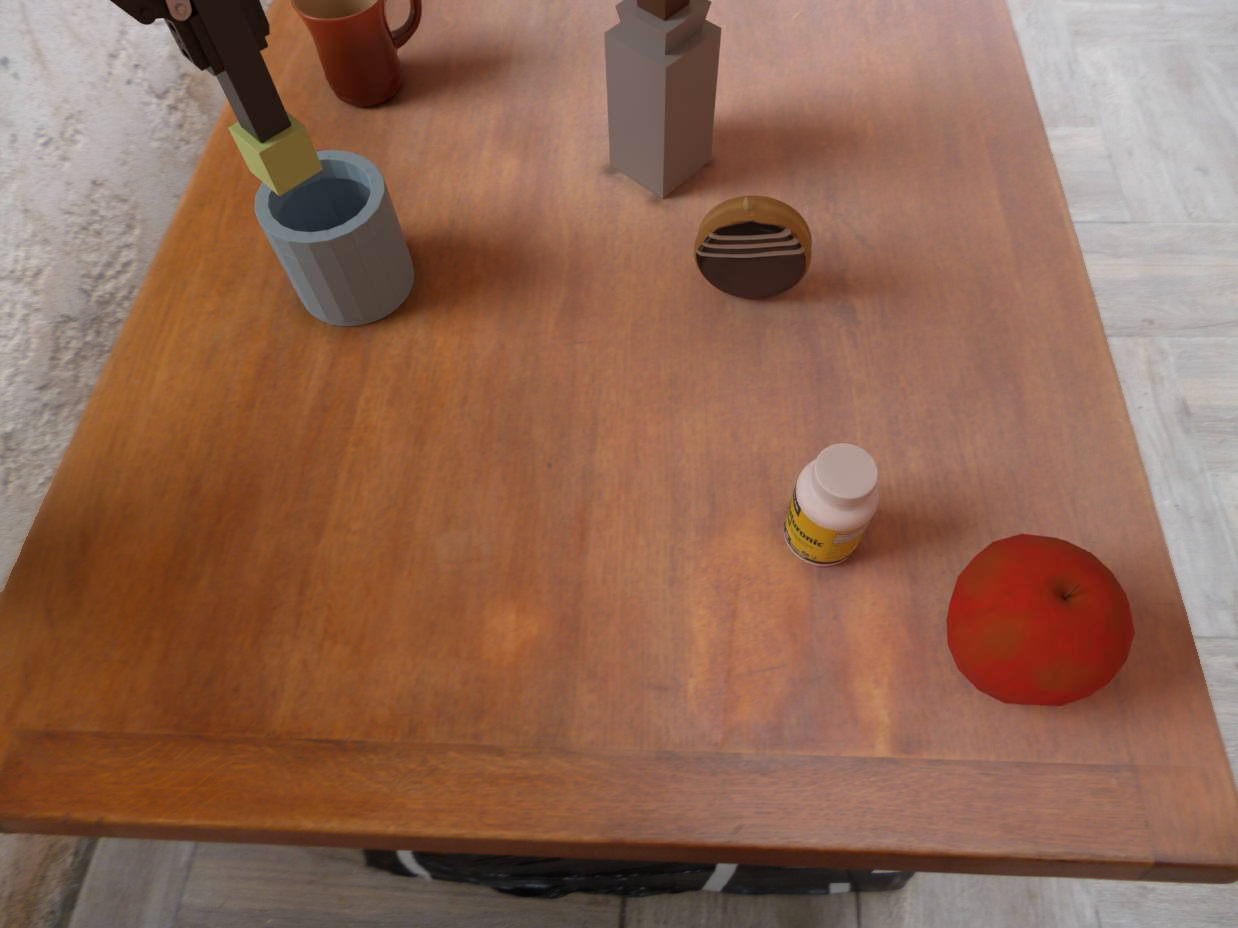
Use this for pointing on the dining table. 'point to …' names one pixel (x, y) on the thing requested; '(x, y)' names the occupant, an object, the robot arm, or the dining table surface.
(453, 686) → the dining table surface
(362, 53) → the mug
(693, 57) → the perfume bottle
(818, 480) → the supplement bottle
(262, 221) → the gray tumbler
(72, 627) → the dining table surface
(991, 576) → the apple
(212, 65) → the robot arm
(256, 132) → the brush
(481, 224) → the dining table surface
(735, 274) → the doughnut
